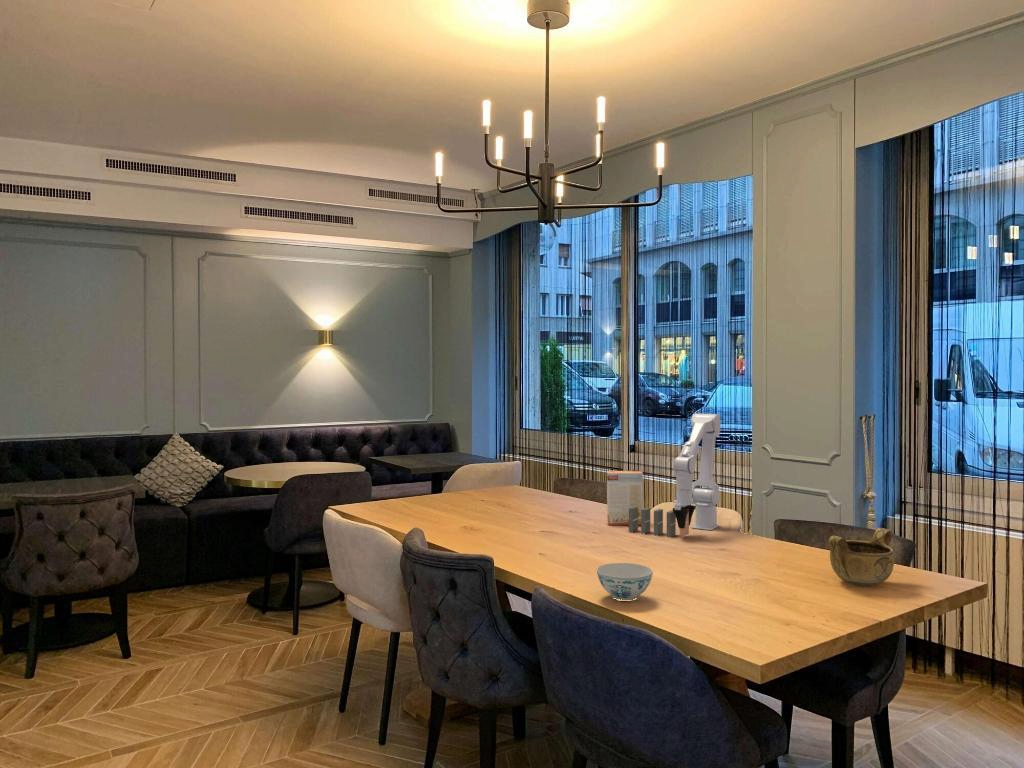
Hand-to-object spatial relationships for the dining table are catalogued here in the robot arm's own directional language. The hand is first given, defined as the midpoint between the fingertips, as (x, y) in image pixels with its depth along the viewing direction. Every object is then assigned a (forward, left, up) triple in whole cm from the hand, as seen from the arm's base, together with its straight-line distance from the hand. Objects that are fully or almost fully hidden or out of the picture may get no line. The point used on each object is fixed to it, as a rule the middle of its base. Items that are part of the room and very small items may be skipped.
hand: (684, 526), depth 281 cm
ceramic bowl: (+31, +64, -4) cm, 71 cm away
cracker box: (-10, -28, -4) cm, 30 cm away
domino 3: (0, -5, -4) cm, 6 cm away
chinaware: (+79, +12, -4) cm, 80 cm away
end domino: (0, -20, -4) cm, 20 cm away
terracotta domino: (0, 0, -3) cm, 3 cm away
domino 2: (0, -10, -4) cm, 11 cm away
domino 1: (0, -15, -4) cm, 15 cm away
